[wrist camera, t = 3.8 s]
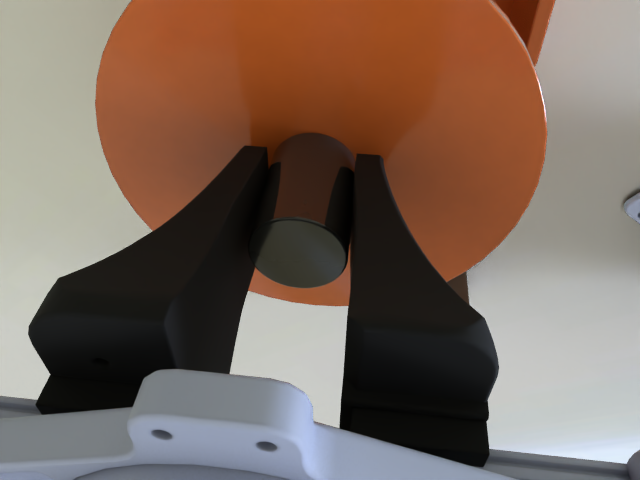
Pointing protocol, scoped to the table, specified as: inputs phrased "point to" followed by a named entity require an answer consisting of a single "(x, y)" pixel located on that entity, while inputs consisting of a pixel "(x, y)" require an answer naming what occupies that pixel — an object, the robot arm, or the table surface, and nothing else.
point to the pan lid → (327, 123)
